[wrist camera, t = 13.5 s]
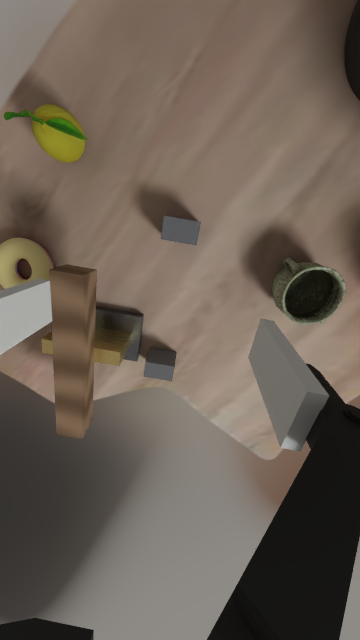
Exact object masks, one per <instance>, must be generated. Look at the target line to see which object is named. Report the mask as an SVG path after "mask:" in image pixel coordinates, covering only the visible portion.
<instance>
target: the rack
mask: <svg viewBox="0 0 360 640" xmlns="http://www.w3.org/2000/svg"><path fill="white" fill-rule="evenodd" d="M200 223H201V222H198V221H192V220H187V219H181V218H175V217H170V216H164V218H163V226H162V234H161V239H164V240H169V241H175V242H181V243H187V244H192V245H197V240H198V234H199V229H200ZM175 359H176V352H172V351H167V350H161V349H155V348H150V351H149V353H148V356H147V359H146V362H145V370H144V377H150V378H156V379H162V380H168V381H172V378H173V372H174V367H175Z"/></svg>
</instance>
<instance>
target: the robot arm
mask: <svg viewBox="0 0 360 640" xmlns="http://www.w3.org/2000/svg"><path fill="white" fill-rule="evenodd" d="M345 63H346V71H347V75H348V79H349V82H350V85H351V87H352V89H353V91H354V93H355V94H356V95H357V97H358V98H359V99H360V0H358V2H357V4H356V6H355V9H354V11H353V14H352V17H351V20H350V24H349V28H348V32H347V38H346V46H345ZM50 322H52V307H51V291H50V281H49V280H44V279H38V278H37V279H34V280H31V281H28V282H25V283H22V284H19V285H16V286H13V287H10V288H7V289H4V290H1V291H0V355H1V354H2V353H4V352H5V351H7V350H8V349H10V348H12V347H13V346H15V345H16V344H18V343H19V342H21V341H22V340H24V339H25V338H27V337H29V336H30V335H32V334H33V333H35V332H36V331H38V330H39V329H41V328H43V327H44V326H46V325H47V324H49V323H50ZM249 360H250V363H251V366H252V369H253V371H254V374H255V377H256V380H257V383H258V386H259V388H260V391H261V394H262V397H263V400H264V402H265V405H266V408H267V411H268V414H269V416H270V419H271V422H272V425H273V428H274V431H275V433H276V436H277V439H278V442H279V445H280V447H281V448H285V449H291V450H295V451H301V449H302V447H303V445H304V443H305V441H306V440H307V442H308V444H309V447H310V448H311V451H310V453H309V454H308V456H307V458H306V460H305V462H304V463H303V466H302V468H301V469H300V471H299V473H298V474H297V477H296V478H295V480H294V482H293V484H292V486H291V487H290V489H289V491H288V493H287V495H286V496H285V498H284V500H283V502H282V504H281V505H280V507H279V509H278V511H277V513H276V515H275V516H274V518H273V520H272V522H271V524H270V525H269V527H268V529H267V531H266V533H265V535H264V536H263V538H262V540H261V542H260V544H259V546H258V547H257V549H256V551H255V553H254V555H253V556H252V559H251V560H250V562H249V564H248V566H247V567H246V569H245V571H244V573H243V575H242V577H241V578H240V581H239V582H238V584H237V586H236V588H235V590H234V591H233V593H232V595H231V597H230V599H229V600H228V602H227V604H226V606H225V608H224V610H223V611H222V613H221V615H220V617H219V618H218V621H217V622H216V624H215V626H214V628H213V629H212V631H211V633H210V635H209V637H208V639H207V640H339V637H340V632H341V627H342V622H343V617H344V612H345V607H346V602H347V597H348V592H349V587H350V582H351V577H352V572H353V567H354V562H355V557H356V552H357V547H358V541H359V537H360V409H359V408H356V407H354V406H351V405H348V404H345V403H344V401H343V400H342V399H341V398H340V396H339V395H338V394H337V393H336V391H335V390H334V389H333V388H332V386H330V384H329V383H328V381H327V380H325V378H324V377H323V375H322V374H321V373H320V372H319V371H318V370H317V369H316V368H314V367H313V366H312V365H310V364H305V362H304V361H303V360H302V358H301V357H300V356H299V354H298V353H297V352H296V350H295V349H294V348H293V346H292V345H291V344H290V342H289V341H288V340H287V338H286V337H285V336H284V334H283V333H282V332H281V330H280V329H279V328H278V326H277V325H276V324H275V322H274V321H271V320H266V319H261V320H260V323H259V326H258V329H257V332H256V335H255V338H254V341H253V345H252V348H251V351H250V354H249ZM0 640H93V630H91V629H86V628H81V627H76V626H71V625H66V624H61V623H57V622H52V621H47V620H42V619H38V618H33V619H27V620H22V621H17V622H11V623H6V624H1V625H0Z"/></svg>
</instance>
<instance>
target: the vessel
mask: <svg viewBox="0 0 360 640" xmlns="http://www.w3.org/2000/svg"><path fill="white" fill-rule="evenodd" d="M283 263H284V265H285V266H286V267H285V268H284V269H282V270H281V271H280V272H279V273H278V275H277V276H276V278H275V280H274V283H273V288H272V293H273V296H274V300H275V303H276V306H277V307H278V308H279V309H280V310H281V311H282V312H283V313H284V314H286V316H288V317H289V318H290V319H291V320H292V321H295V322H297V323H299V324H316V323H324V322H325V321H326V319H328V318H329V317H330V316H332V315H333V314H334V313H335V312H336V311H337V309H338V308H339V306H340V304H341V303H342V301H343V298H344V295H345V292H346V291H345V283H344V280H343V278H342V277H341V275H340V274H339V273H338V272H337V271H336V270H334V269H331V268H328V267H324V266H322V265H320V264H317V263H310V262H301V263H296V262H295V261H293V260H292V259H290V258H286V259H285V260H283Z"/></svg>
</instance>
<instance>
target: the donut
mask: <svg viewBox="0 0 360 640" xmlns="http://www.w3.org/2000/svg"><path fill="white" fill-rule="evenodd" d="M22 258H23V259H26V260H27V261H28V262H29V264H30V265H31V268H32V274H31V277H30V278H29V279H27V280H26V279H24V278H22V277H21V276H20V274H19V273H18V269H17V264H18V261H19V260H20V259H22ZM53 268H54V266H53V262H52V260H51V258H50V256H49V254H48V253H47V251H46V250H45V249H44V248H43V247H42V246H41V245H39V244H38V243H36V242H34V241H32V240H30V239H26V238H11V239H8V240H6V241H4V242H3V243H2V244H0V284H1V285H2V287H3V288H4V289H7V288H10V287H13V286H16V285H19V284H22V283H25V282H28V281H31V280H34V279H37V278H38V279H44V280H49V281H50V279H49V269H53Z"/></svg>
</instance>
